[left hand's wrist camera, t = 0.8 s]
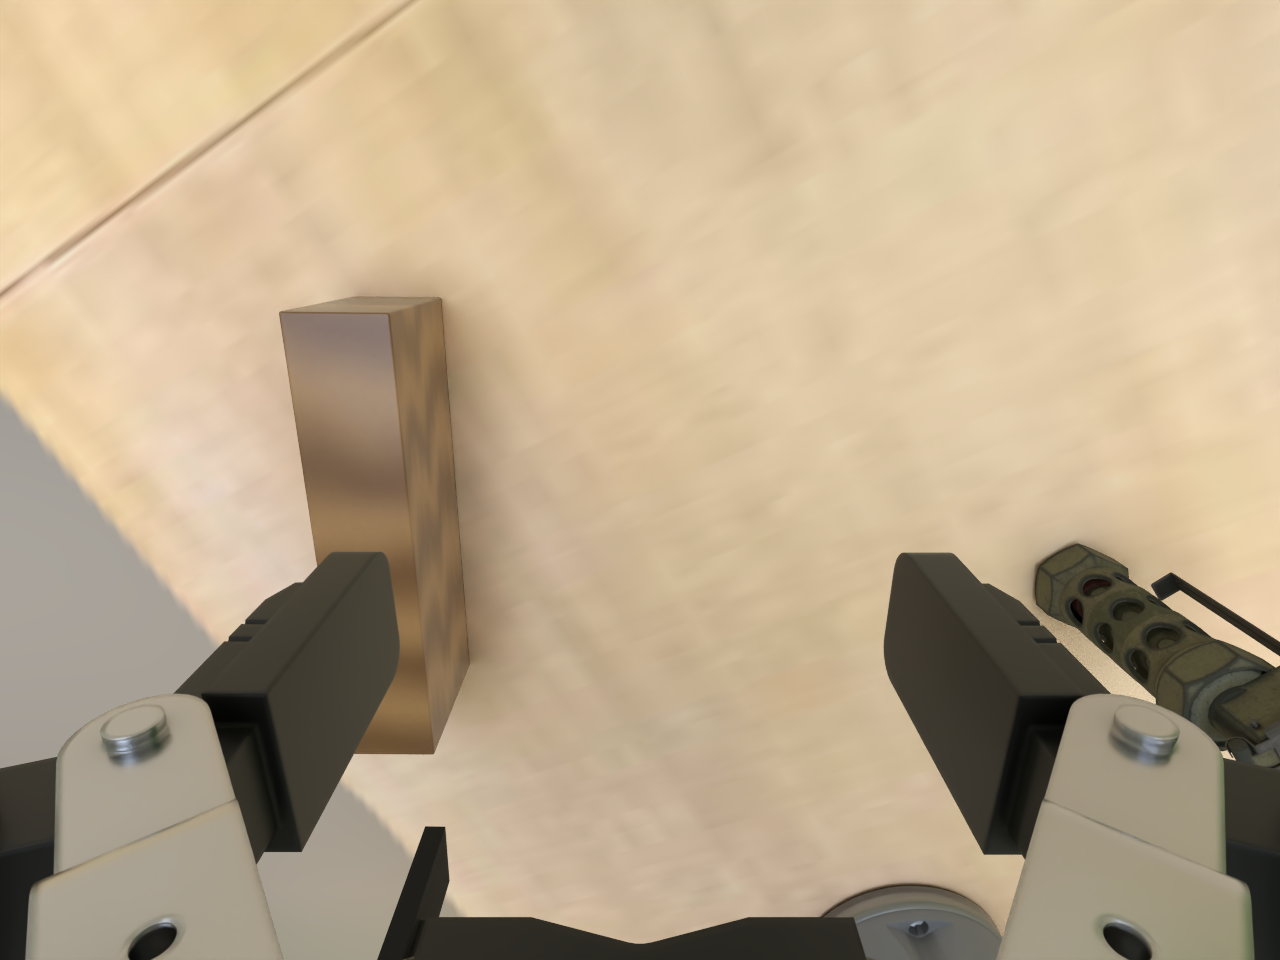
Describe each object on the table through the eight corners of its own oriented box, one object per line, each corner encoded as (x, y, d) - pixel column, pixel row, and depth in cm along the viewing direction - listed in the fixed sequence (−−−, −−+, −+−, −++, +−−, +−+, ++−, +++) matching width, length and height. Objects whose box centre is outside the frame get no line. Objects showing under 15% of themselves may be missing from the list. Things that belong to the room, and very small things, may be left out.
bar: (353, 296, 37) (277, 311, 29) (441, 297, 37) (389, 312, 29) (396, 664, 44) (344, 754, 37) (469, 665, 44) (434, 755, 37)
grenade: (1047, 651, 44) (1241, 846, 30) (1004, 583, 43) (1188, 756, 28) (1181, 575, 42) (1455, 744, 28) (1142, 502, 41) (1410, 642, 27)
